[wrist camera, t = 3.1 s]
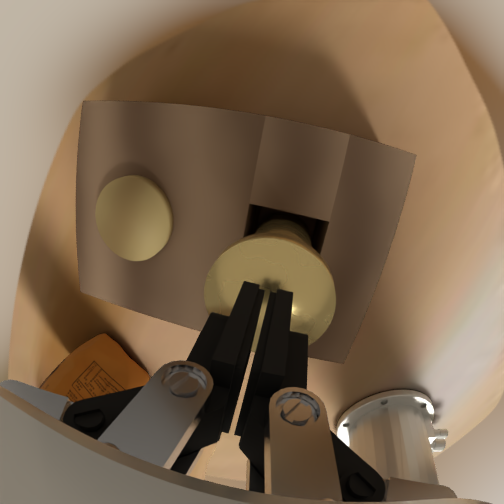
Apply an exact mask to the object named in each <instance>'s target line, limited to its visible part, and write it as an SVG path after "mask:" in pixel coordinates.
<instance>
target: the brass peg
mask: <svg viewBox="0 0 504 504" xmlns="http://www.w3.org/2000/svg"><path fill="white" fill-rule="evenodd" d="M244 281H247V282H251V283H256V284H260V287H259V289H263V290H265V293H264V298H263V302H262V306H261V310H260V315H259V319H258V323H257V327H256V332H255V336H254V340H253V344H252V348H251V351H252V352H255V351H256V347H257V343H258V339H259V335H260V331H261V327H262V323H263V319H264V315H265V311H266V307H267V303H268V299H269V295H270V291H271V292H275V293H276V292H277V289H281V290H286V291H290V292H293V303H292V313H291V323H290V331H294V332H298V333H303V334H307V335H308V346H309V345H311V344H312V343H314V342H315V341H316V340H317V339H318V338H320V337H321V336H322V335H323V333H324V332H325V331H326V330H327V328H328V327H329V325H330V323H331V321H332V319H333V316H334V312H335V307H336V293H335V287H334V281H333V277H332V274H331V271H330V269H329V267H328V265H327V263H326V262H325V261H324V259H323V258H322V256H321V255H320V254H319V253H318V252H317V251H316V250H315V249H313V248H312V247H311V234H310V231H309V228H308V226H307V225H306V224H305V222H304V221H303V220H302V219H300V218H299V217H297V216H296V215H293V214H290V213H284V212H281V213H275V214H272V215H270V216H268V217H266V218H265V219H264V220H263V221H262V222H261V223H260V225H259V226H258V228H257V230H256V232H255V234H253V235H249V236H246V237H244V238H241V239H239V240H237V241H235V242H234V243H232V244H231V245H230V246H228V247H227V248H226V249H225V250H224V251H223V252H222V253H221V254H220V256H219V257H218V258H217V260H216V261H215V263H214V264H213V266H212V267H211V269H210V271H209V273H208V275H207V278H206V281H205V286H204V301H205V306H206V310H207V312H208V315H210V314H211V312H214V313H218V314H222V315H226V316H230V313H231V311H232V309H233V306H234V304H235V301H236V299H237V296H238V294H239V291H240V289H241V287H242V284H243V282H244Z"/></svg>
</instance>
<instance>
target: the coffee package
mask: <svg viewBox="0 0 504 504" xmlns="http://www.w3.org/2000/svg"><path fill="white" fill-rule="evenodd" d="M149 379H150V377H149V375H148V373H147V372H146V371H145V370H143V369H142V368H141V367H140V366H139V365H138V364H137V363H135V362H134V361H133V360H132V359H130V358H129V356H128V355H127V354H126V353H125V352H124V350H123V349H122V348H121V346H120V345H119V344H118V343H117V342H116V341H114V340H113V339H111V338H110V337H109V336H108V335H107V334H105V333H103V334H99V335H97V336H96V337H94V338H92V339H91V340H89V341H87V342H85V343H84V344H82V345H81V346H79V347H78V348H77V349H75V350H74V351H73V352H72V353H71V354H70V355H69V356H68V357H67V358H65V359H64V360H63V361H62V362H61V363H60V364H59V365H58V366H57V367H56V368H55V370H54V371H53V372H52V373H51V374H50V375H49V376H48V377H47V378H46V379H45V381H44V382H43V383H42V385H41V386H40V387H39V389H42V390H45V391H49V392H52V393H55V394H58V395H62V396H65V397H68V398H69V400H70V401H71V402H76V401H79V400H82V399H86V398H91V397H96V396H101V395H106V394H110V393H115V392H119V391H123V390H128V389H132V388H136V387H140V386H144V385H146V383H147V382H148V381H149Z"/></svg>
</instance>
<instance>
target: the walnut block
mask: <svg viewBox="0 0 504 504" xmlns="http://www.w3.org/2000/svg"><path fill="white" fill-rule="evenodd" d="M415 159H416V155H415V154H412V153H409V152H407V151H404V150H401V149H397V148H394V147H391V146H388V145H385V144H382V143H378V142H375V141H372V140H368V139H365V138H361V137H358V136H354V135H350V134H347V133H343V132H339V131H335V130H331V129H327V128H323V127H319V126H314V125H310V124H306V123H301V122H296V121H291V120H286V119H281V118H276V117H271V116H265V115H259V114H253V113H247V112H241V111H234V110H227V109H219V108H211V107H203V106H194V105H183V104H171V103H157V102H138V101H83V105H82V113H81V121H80V131H79V142H78V155H77V174H76V238H77V257H78V271H79V282H80V292H83V293H85V294H88V295H91V296H93V297H96V298H99V299H101V300H104V301H107V302H110V303H113V304H115V305H118V306H121V307H124V308H127V309H130V310H133V311H136V312H139V313H142V314H145V315H148V316H151V317H155V318H158V319H161V320H164V321H167V322H171V323H174V324H177V325H181V326H184V327H188V328H191V329H194V330H198V331H202V329H203V327H204V325H205V323H206V321H207V319H208V317H209V315H208V312H207V310H206V306H205V301H204V286H205V281H206V278H207V275H208V273H209V271H210V269H211V267H212V266H213V264H214V263H215V261H216V260H217V258H218V257H219V256H220V254H221V253H222V252H223V251H224V250H225V249H226V248H227V247H228V246H230V245H231V244H232V243H234V242H235V241H237V240H239V239H241V238H244V237H246V236H249V235H253V234H255V232H256V230H257V228H258V226H259V225H260V223H261V222H262V221H263V220H264V219H265V218H266V217H268V216H270V215H272V214H275V213H281V212H284V213H290V214H293V215H296V216H297V217H299V218H300V219H302V220H303V221H304V222H305V224H306V225H307V226H308V228H309V231H310V234H311V247H312V248H313V249H315V250H316V251H317V252H318V253H319V254H320V255H321V256H322V258H323V259H324V261H325V262H326V263H327V265H328V267H329V269H330V271H331V274H332V277H333V281H334V287H335V293H336V307H335V312H334V316H333V319H332V321H331V323H330V325H329V327H328V328H327V330H326V331H325V332H324V333H323V335H322V336H321V337H320V338H318V339H317V340H316V341H315V342H314V343H312V344H311V345H309V346H308V357H310V358H315V359H320V360H325V361H331V362H336V363H342V364H344V362H345V360H346V357H347V355H348V353H349V351H350V349H351V346H352V344H353V342H354V340H355V338H356V335H357V333H358V331H359V328H360V326H361V324H362V321H363V319H364V317H365V314H366V312H367V309H368V307H369V304H370V302H371V299H372V297H373V294H374V292H375V289H376V286H377V284H378V281H379V278H380V276H381V273H382V270H383V267H384V264H385V262H386V259H387V256H388V253H389V250H390V247H391V244H392V241H393V238H394V235H395V232H396V229H397V225H398V222H399V219H400V216H401V212H402V209H403V205H404V202H405V198H406V195H407V191H408V187H409V184H410V180H411V176H412V172H413V168H414V164H415Z"/></svg>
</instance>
